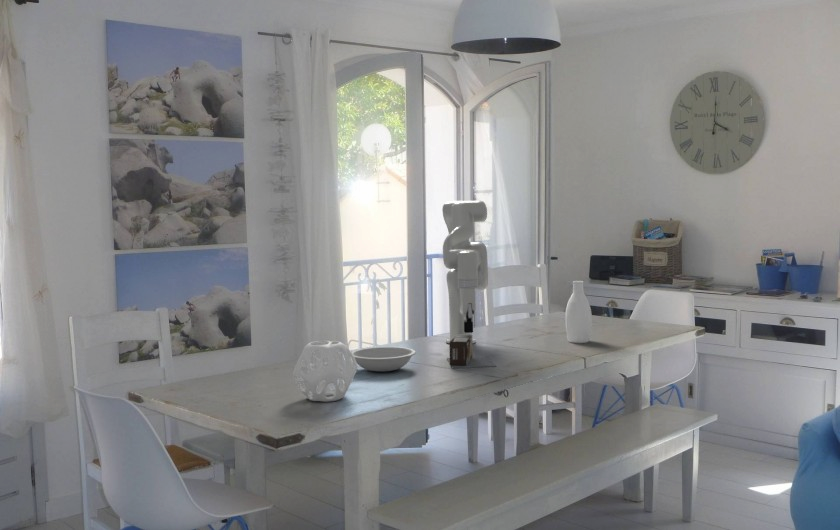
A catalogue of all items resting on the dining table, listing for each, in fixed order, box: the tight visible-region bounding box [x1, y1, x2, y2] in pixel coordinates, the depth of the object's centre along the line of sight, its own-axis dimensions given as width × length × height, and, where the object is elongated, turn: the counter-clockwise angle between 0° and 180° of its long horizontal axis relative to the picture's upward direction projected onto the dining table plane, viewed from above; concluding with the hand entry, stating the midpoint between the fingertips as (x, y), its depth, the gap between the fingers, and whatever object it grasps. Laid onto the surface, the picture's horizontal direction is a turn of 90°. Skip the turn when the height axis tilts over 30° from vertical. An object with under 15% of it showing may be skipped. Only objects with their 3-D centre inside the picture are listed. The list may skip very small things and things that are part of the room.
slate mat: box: [446, 356, 497, 369], centre depth 318 cm, size 18×16×1 cm
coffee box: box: [449, 333, 474, 367], centre depth 318 cm, size 9×6×16 cm
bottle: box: [564, 280, 593, 344], centre depth 359 cm, size 11×11×25 cm
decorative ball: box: [292, 340, 358, 403], centre depth 264 cm, size 20×20×17 cm
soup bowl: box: [350, 346, 417, 372], centre depth 307 cm, size 24×24×7 cm
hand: (468, 332), depth 322 cm, fingers closed
